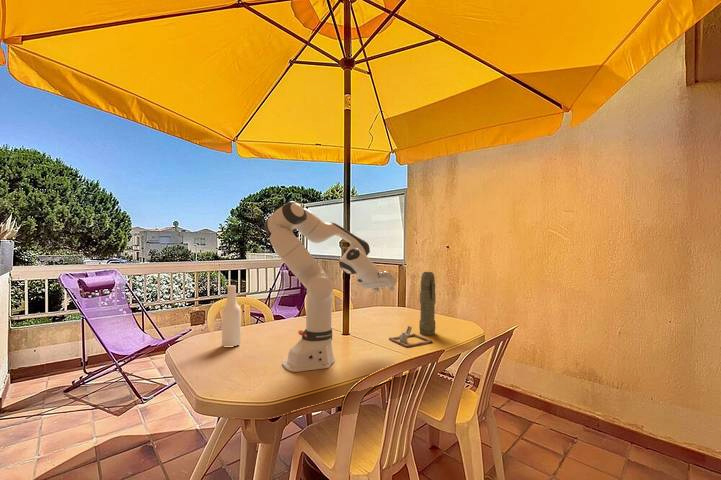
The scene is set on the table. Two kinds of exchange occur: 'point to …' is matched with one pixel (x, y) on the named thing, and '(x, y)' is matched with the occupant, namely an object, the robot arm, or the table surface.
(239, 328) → the alcohol
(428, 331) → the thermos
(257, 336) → the table surface
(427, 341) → the frame
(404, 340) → the lighter
